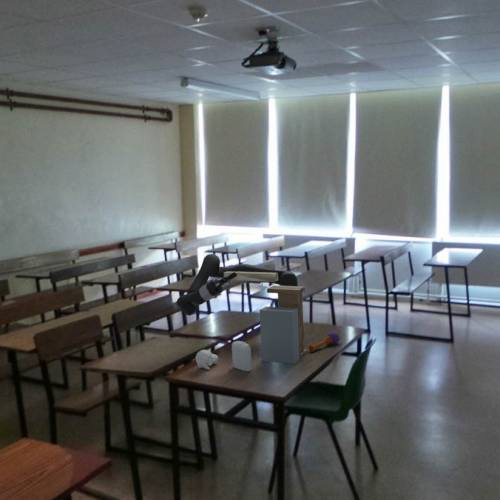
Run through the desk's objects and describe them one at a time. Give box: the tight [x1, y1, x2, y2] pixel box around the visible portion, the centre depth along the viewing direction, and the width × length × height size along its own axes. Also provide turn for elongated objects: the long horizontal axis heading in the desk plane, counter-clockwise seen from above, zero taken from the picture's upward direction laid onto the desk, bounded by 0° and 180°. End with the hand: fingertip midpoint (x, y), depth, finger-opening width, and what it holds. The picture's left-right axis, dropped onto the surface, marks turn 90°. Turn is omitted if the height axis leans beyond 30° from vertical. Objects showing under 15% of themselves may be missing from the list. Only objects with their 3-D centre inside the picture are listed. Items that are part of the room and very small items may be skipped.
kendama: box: [308, 331, 340, 353], centre depth 275 cm, size 6×6×20 cm
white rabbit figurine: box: [194, 349, 219, 371], centre depth 253 cm, size 6×8×12 cm
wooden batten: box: [224, 271, 278, 282], centre depth 259 cm, size 4×26×4 cm, turn 65°
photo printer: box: [231, 340, 253, 372], centre depth 248 cm, size 10×4×12 cm, turn 39°
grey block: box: [259, 306, 301, 365], centre depth 256 cm, size 7×16×24 cm, turn 65°
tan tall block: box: [266, 284, 308, 359], centre depth 265 cm, size 8×16×32 cm, turn 65°
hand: (237, 273), depth 261 cm, fingers closed on wooden batten, 3 cm apart
